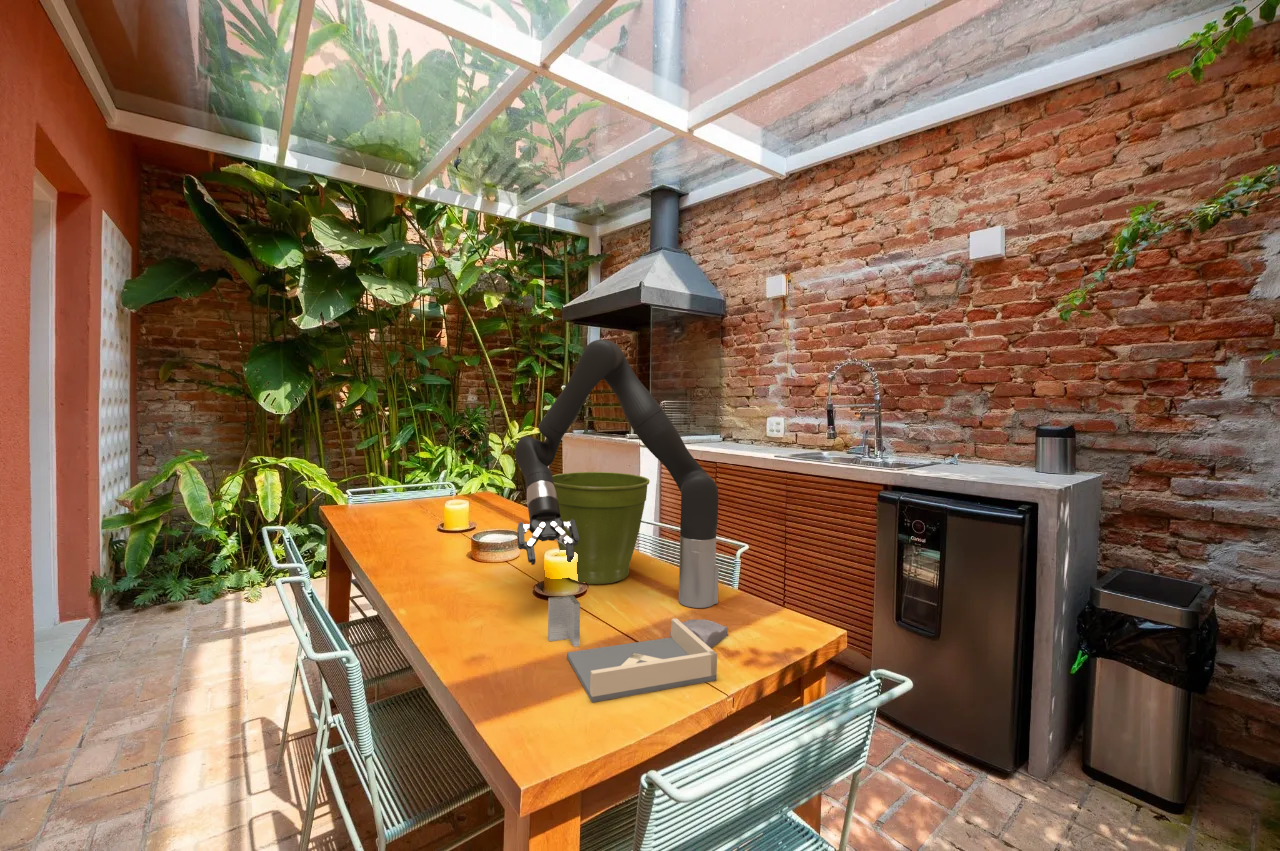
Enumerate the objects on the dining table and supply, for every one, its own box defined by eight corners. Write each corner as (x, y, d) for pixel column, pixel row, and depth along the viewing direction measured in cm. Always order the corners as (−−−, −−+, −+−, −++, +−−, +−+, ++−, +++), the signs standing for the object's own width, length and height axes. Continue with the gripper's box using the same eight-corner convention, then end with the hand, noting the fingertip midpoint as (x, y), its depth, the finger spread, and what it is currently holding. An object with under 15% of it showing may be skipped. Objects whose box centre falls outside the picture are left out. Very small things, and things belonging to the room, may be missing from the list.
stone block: (665, 649, 121) (708, 653, 116) (664, 626, 122) (706, 629, 117) (690, 639, 131) (731, 642, 126) (689, 617, 132) (729, 619, 127)
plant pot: (524, 575, 165) (525, 477, 164) (596, 555, 188) (598, 469, 187) (597, 600, 146) (598, 489, 145) (668, 575, 169) (670, 479, 167)
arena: (676, 641, 122) (676, 618, 122) (716, 680, 106) (717, 653, 105) (566, 657, 114) (567, 632, 114) (592, 702, 97) (592, 673, 97)
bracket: (572, 635, 124) (573, 595, 124) (579, 646, 119) (580, 603, 119) (548, 639, 122) (548, 597, 122) (553, 649, 117) (554, 606, 117)
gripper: (515, 495, 136) (523, 555, 126) (573, 493, 141) (585, 550, 131) (512, 513, 141) (519, 572, 131) (568, 510, 147) (579, 567, 136)
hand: (552, 561), depth 131 cm, fingers open, 8 cm apart
